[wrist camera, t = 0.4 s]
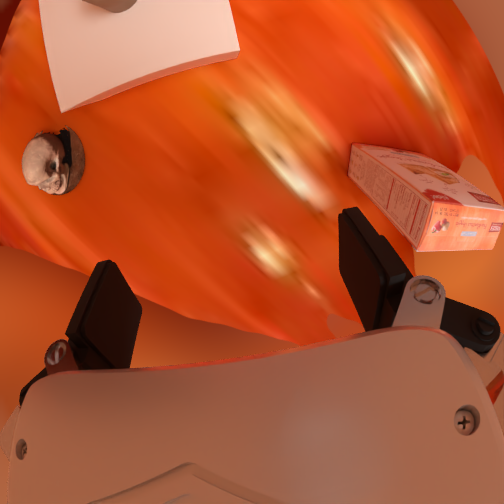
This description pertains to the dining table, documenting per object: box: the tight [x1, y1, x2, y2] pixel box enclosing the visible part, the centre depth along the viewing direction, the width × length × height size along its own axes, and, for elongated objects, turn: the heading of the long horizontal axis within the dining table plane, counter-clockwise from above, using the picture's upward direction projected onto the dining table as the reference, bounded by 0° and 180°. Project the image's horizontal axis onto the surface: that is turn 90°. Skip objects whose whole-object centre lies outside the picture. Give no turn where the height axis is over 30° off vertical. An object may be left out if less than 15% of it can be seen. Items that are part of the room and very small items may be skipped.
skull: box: [22, 125, 85, 195], centre depth 33 cm, size 12×10×10 cm
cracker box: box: [347, 143, 504, 251], centre depth 31 cm, size 14×6×21 cm, turn 89°
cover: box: [39, 0, 240, 113], centre depth 18 cm, size 19×19×18 cm
